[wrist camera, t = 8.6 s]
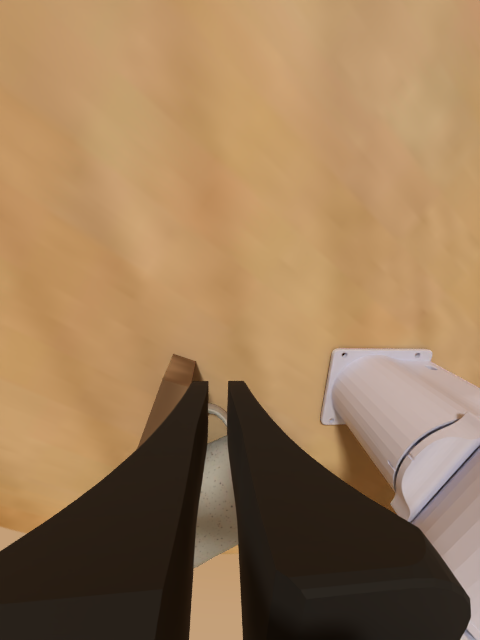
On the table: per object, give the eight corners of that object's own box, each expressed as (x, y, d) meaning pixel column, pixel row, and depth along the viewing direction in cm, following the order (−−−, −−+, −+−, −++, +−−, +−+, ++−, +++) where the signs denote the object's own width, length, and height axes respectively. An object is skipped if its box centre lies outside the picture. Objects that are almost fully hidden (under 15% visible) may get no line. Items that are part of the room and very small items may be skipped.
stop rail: (195, 361, 20) (190, 387, 17) (133, 518, 25) (118, 567, 21) (173, 354, 20) (162, 379, 16) (114, 515, 25) (95, 564, 21)
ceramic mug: (274, 461, 25) (296, 551, 17) (204, 492, 25) (197, 592, 18) (228, 382, 22) (231, 450, 14) (150, 419, 22) (114, 504, 15)
